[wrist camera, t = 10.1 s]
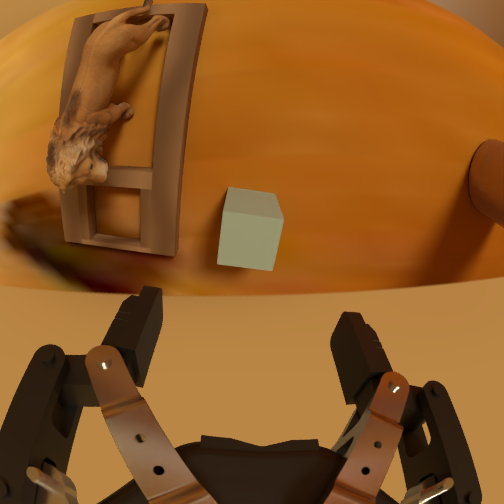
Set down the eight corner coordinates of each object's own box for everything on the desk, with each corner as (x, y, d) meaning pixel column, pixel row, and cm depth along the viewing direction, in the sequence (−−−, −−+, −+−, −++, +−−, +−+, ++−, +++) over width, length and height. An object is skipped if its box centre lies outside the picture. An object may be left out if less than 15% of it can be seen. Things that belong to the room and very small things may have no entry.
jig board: (208, 9, 15) (205, 3, 14) (178, 248, 26) (174, 256, 24) (82, 21, 14) (74, 18, 13) (72, 234, 25) (65, 241, 23)
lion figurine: (139, 160, 22) (89, 210, 15) (89, 149, 21) (30, 194, 14) (181, -1, 14) (136, -34, 6) (122, -3, 13) (58, -23, 5)
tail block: (275, 193, 23) (284, 219, 18) (266, 235, 25) (272, 270, 20) (228, 186, 23) (223, 211, 18) (222, 229, 25) (216, 264, 20)
